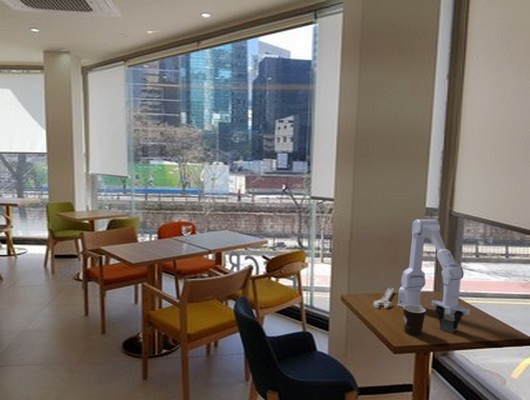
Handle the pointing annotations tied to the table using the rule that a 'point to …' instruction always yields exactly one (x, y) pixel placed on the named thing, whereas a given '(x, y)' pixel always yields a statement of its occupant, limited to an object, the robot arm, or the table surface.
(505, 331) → the table surface
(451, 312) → the ratchet
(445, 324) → the socket
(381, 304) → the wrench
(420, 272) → the robot arm
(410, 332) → the coffee mug
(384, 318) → the table surface
